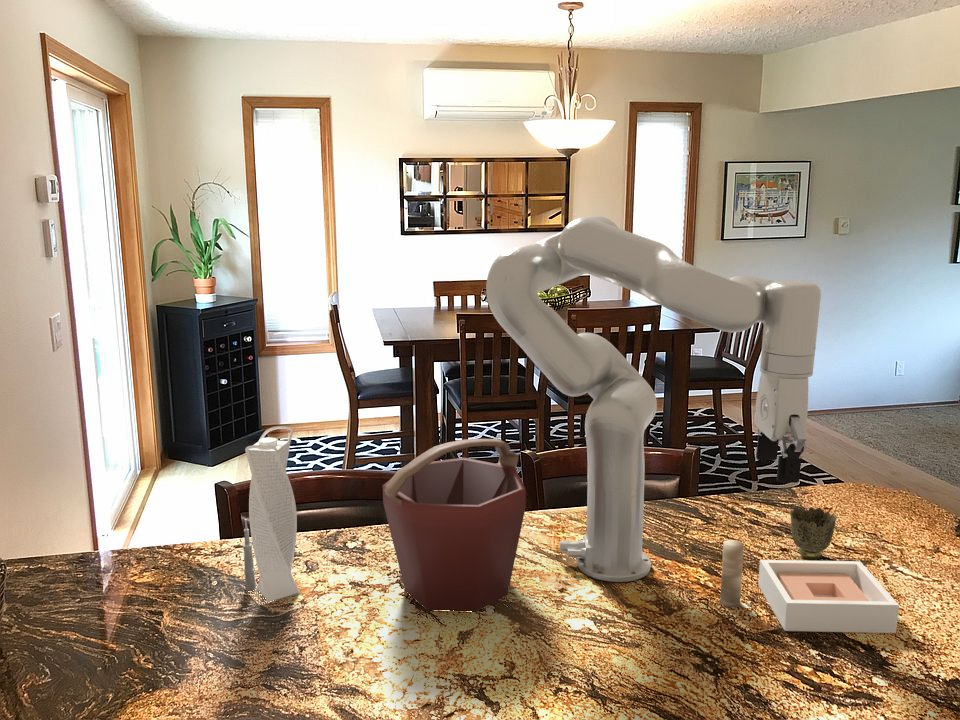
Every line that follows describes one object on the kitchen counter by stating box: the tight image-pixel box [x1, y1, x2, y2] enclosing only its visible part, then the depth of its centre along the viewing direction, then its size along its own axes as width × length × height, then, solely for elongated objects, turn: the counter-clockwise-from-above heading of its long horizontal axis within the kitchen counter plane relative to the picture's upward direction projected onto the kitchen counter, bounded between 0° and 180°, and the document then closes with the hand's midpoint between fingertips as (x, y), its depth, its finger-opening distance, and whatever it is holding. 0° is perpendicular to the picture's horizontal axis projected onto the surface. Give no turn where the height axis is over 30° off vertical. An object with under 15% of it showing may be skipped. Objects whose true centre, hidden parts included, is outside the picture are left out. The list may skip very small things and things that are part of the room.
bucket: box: [382, 438, 527, 613], centre depth 130 cm, size 24×22×25 cm
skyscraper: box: [242, 425, 301, 606], centre depth 130 cm, size 8×8×28 cm
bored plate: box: [777, 573, 869, 601], centre depth 125 cm, size 11×11×2 cm
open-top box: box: [757, 559, 900, 634], centre depth 125 cm, size 16×14×4 cm
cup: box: [790, 506, 837, 561], centre depth 142 cm, size 8×7×8 cm
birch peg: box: [719, 539, 745, 609], centre depth 126 cm, size 3×3×10 cm
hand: (776, 470), depth 126 cm, fingers open, 9 cm apart
